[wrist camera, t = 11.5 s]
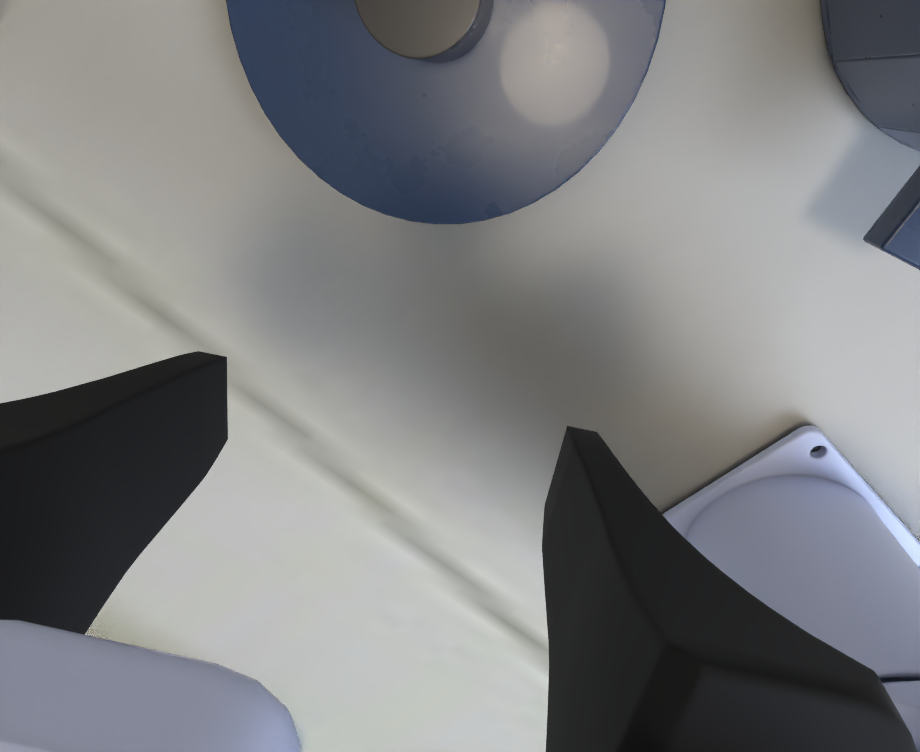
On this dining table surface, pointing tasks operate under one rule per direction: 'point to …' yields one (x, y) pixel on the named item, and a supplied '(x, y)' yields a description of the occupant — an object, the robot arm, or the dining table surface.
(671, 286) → the dining table surface
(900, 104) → the pot
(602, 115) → the lid
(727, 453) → the dining table surface
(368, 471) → the dining table surface
